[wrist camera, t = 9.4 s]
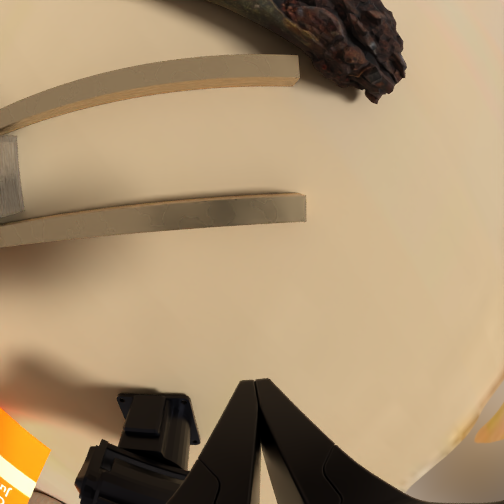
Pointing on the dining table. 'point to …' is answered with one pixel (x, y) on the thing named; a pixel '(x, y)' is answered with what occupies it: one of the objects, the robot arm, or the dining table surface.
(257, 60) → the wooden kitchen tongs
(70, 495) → the dining table surface
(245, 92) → the dining table surface
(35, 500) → the canister
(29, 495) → the orange juice
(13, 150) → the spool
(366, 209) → the dining table surface
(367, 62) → the grey brown wooden log
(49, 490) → the dining table surface
